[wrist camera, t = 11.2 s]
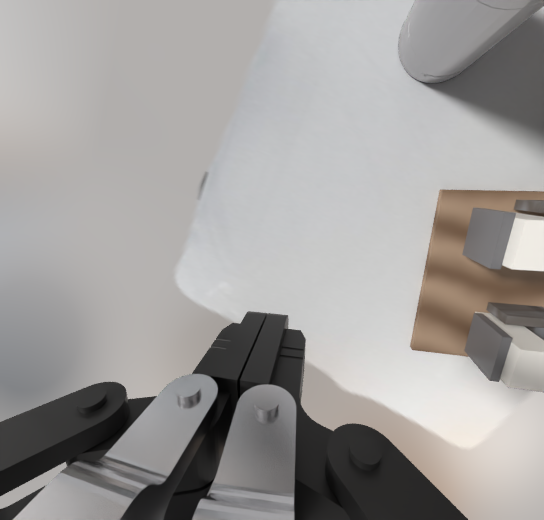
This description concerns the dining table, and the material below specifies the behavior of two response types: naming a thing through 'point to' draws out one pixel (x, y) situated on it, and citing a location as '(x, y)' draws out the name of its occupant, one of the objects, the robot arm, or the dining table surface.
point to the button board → (473, 275)
